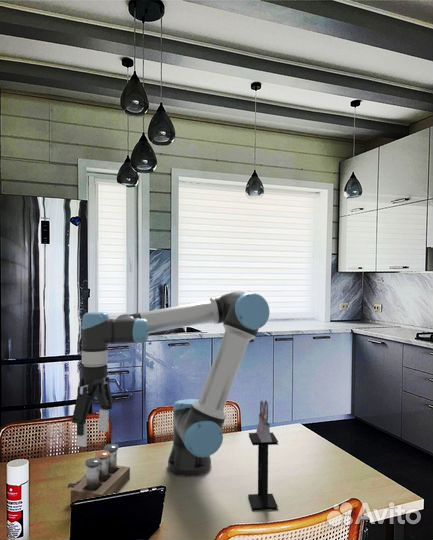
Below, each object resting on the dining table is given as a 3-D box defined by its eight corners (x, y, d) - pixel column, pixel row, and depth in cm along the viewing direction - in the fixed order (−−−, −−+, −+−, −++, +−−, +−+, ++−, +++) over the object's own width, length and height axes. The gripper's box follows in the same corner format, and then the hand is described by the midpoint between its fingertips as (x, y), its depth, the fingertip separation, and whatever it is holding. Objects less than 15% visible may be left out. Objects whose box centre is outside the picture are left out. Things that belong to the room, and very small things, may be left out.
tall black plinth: (247, 494, 126) (248, 395, 127) (271, 493, 126) (271, 395, 127) (253, 513, 115) (254, 406, 116) (279, 512, 116) (280, 405, 117)
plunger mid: (112, 476, 129) (112, 451, 129) (104, 483, 124) (105, 457, 125) (99, 474, 130) (99, 449, 130) (91, 481, 125) (92, 455, 126)
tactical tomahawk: (85, 493, 128) (85, 489, 128) (67, 488, 129) (67, 484, 129) (118, 463, 148) (118, 460, 148) (102, 459, 150) (102, 456, 150)
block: (129, 479, 134) (129, 467, 135) (101, 509, 117) (101, 494, 117) (102, 475, 137) (102, 463, 137) (70, 504, 119) (70, 490, 120)
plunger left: (103, 484, 123) (103, 458, 124) (95, 492, 119) (95, 464, 119) (89, 483, 124) (90, 457, 125) (81, 490, 120) (82, 463, 120)
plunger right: (120, 468, 134) (120, 444, 134) (113, 474, 130) (114, 449, 130) (108, 467, 135) (108, 443, 135) (101, 473, 131) (101, 448, 131)
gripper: (103, 356, 135) (102, 423, 135) (59, 371, 112) (57, 452, 112) (124, 357, 133) (123, 425, 133) (83, 373, 110) (81, 455, 110)
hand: (93, 438), depth 122 cm, fingers open, 11 cm apart
